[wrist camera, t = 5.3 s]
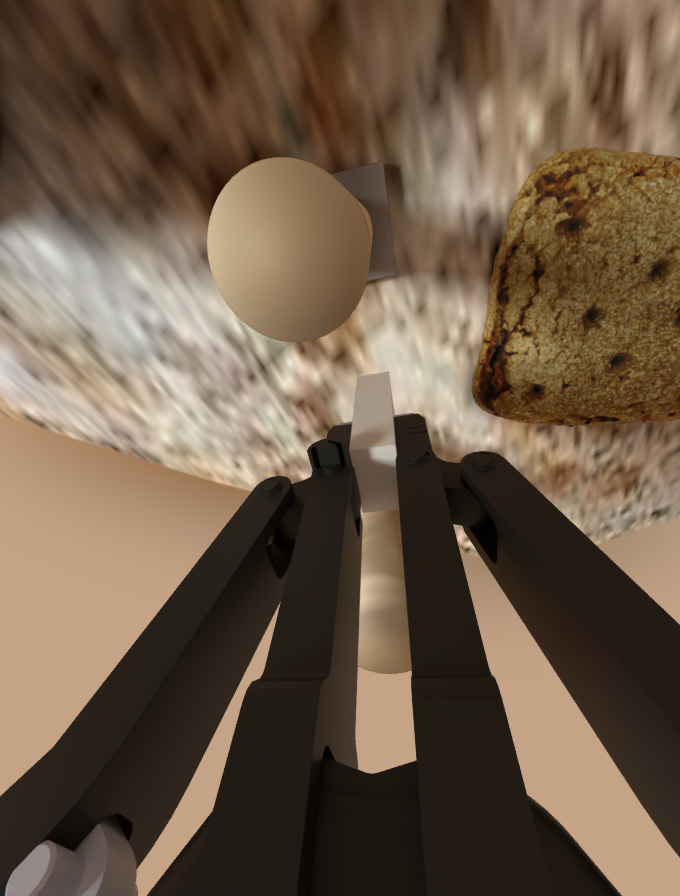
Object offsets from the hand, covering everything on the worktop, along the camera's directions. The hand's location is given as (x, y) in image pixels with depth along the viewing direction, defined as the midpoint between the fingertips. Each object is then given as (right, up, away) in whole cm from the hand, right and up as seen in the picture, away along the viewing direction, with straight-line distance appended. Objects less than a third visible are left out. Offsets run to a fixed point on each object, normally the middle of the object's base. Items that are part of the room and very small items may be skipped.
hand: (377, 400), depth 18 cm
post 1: (-2, +9, +2) cm, 10 cm away
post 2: (+1, -2, +9) cm, 9 cm away
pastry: (+14, +6, +3) cm, 15 cm away
